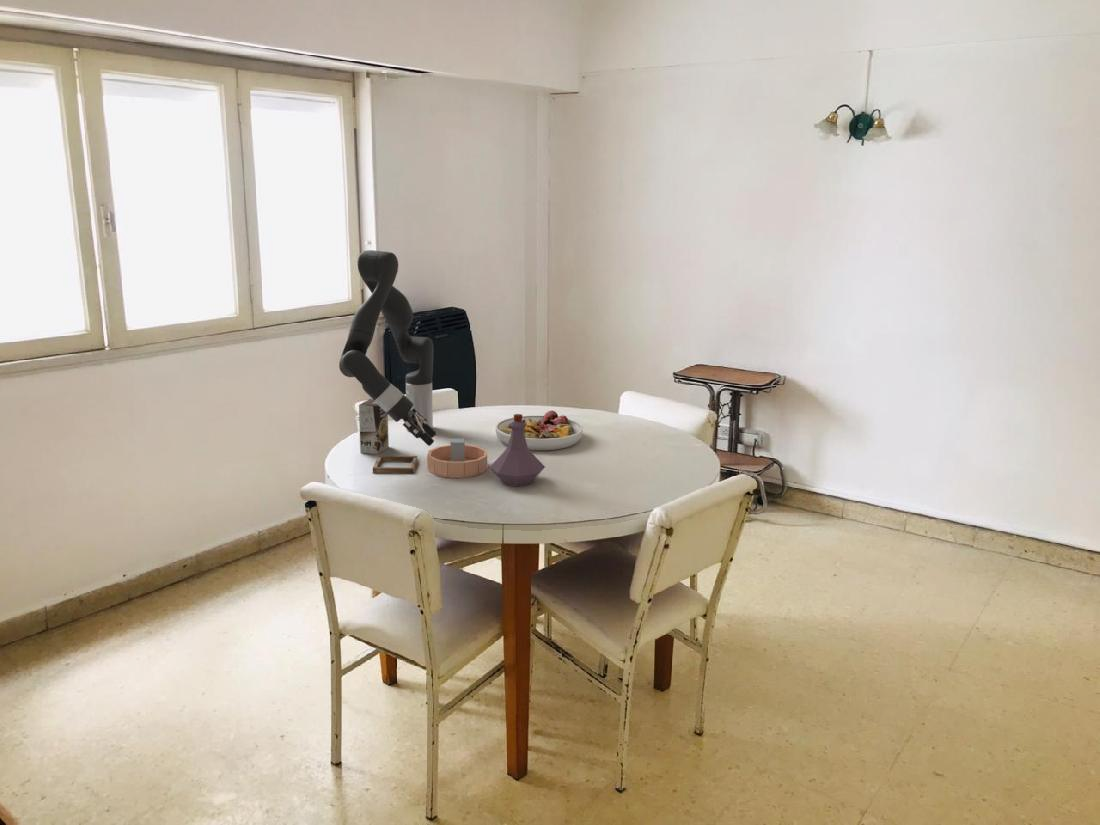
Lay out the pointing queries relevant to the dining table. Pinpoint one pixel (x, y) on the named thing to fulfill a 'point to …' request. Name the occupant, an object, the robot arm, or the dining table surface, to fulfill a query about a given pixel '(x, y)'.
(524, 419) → the bowl
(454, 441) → the block
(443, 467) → the bowl
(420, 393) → the robot arm
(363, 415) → the coffee box
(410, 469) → the tray frame
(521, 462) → the flask
